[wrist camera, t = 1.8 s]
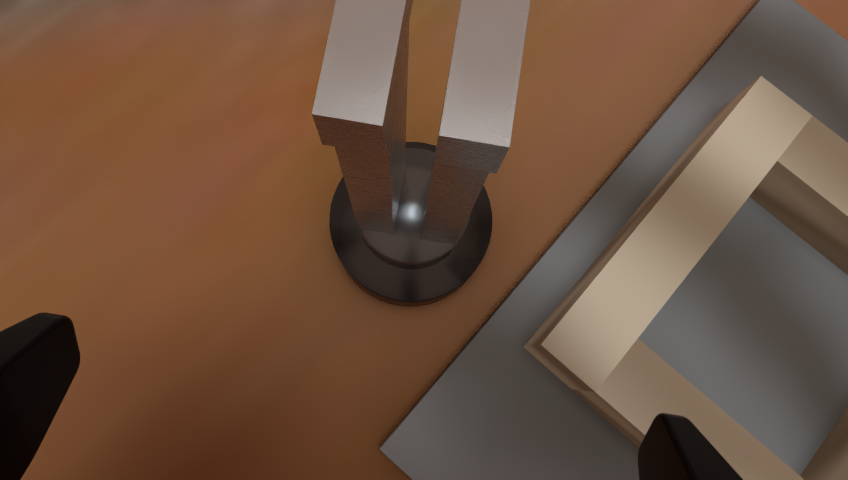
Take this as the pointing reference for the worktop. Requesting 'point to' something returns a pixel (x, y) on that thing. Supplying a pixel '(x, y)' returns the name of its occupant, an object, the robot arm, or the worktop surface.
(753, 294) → the dock
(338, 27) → the grey piece
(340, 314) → the worktop surface
